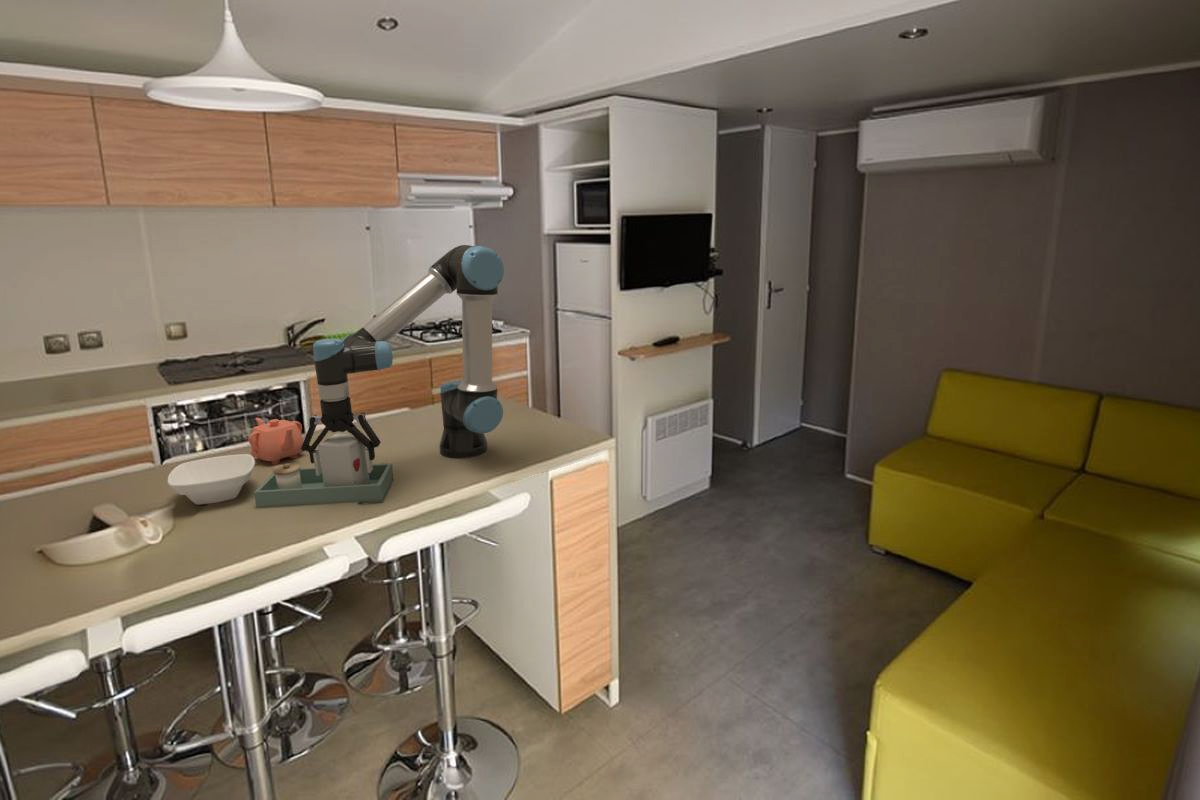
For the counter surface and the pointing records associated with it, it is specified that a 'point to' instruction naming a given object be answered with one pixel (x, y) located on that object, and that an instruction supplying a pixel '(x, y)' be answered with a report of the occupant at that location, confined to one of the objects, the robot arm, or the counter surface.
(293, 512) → the counter surface
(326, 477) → the supplement box
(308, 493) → the tray
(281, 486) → the jar
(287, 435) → the teapot
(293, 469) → the lid
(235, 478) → the bowl
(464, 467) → the counter surface
